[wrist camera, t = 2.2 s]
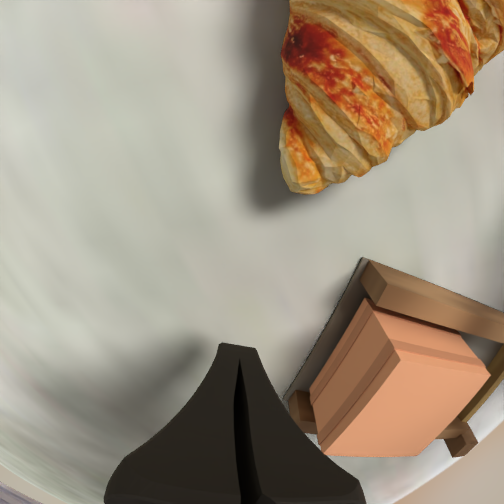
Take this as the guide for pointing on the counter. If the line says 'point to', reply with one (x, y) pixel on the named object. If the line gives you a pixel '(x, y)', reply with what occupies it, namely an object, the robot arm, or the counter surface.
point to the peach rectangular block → (392, 385)
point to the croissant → (375, 78)
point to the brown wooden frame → (419, 306)
